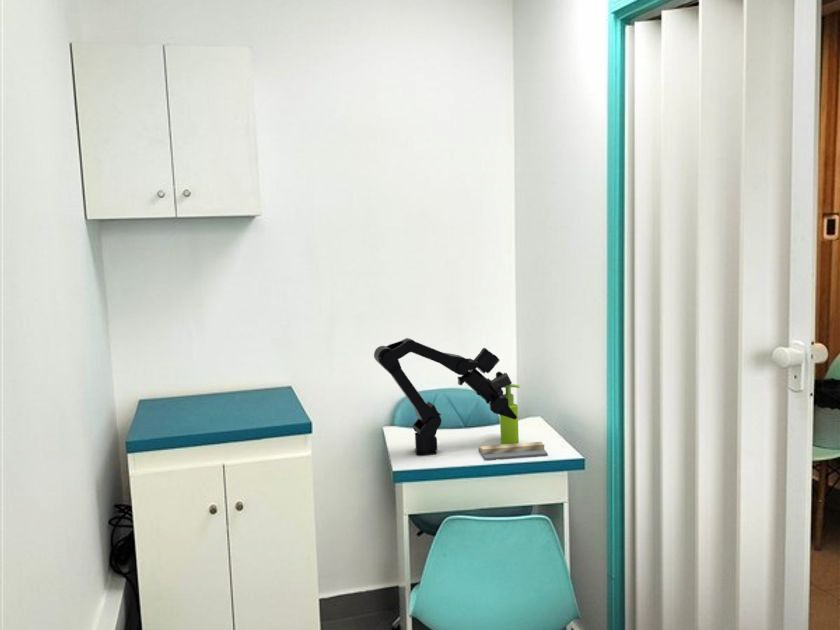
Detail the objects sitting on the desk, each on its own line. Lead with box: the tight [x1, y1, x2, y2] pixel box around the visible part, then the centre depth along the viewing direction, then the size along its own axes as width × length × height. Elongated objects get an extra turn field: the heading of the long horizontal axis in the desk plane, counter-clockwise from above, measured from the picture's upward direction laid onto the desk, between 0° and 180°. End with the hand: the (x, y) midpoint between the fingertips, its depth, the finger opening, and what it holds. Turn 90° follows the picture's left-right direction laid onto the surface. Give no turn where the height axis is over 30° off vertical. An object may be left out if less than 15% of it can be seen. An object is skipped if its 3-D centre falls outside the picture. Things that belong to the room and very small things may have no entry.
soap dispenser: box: [499, 383, 521, 445], centre depth 250 cm, size 6×7×20 cm
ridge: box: [479, 441, 545, 455], centre depth 241 cm, size 20×4×2 cm, turn 96°
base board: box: [477, 447, 549, 461], centre depth 241 cm, size 20×11×1 cm, turn 96°
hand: (514, 414), depth 250 cm, fingers open, 9 cm apart
